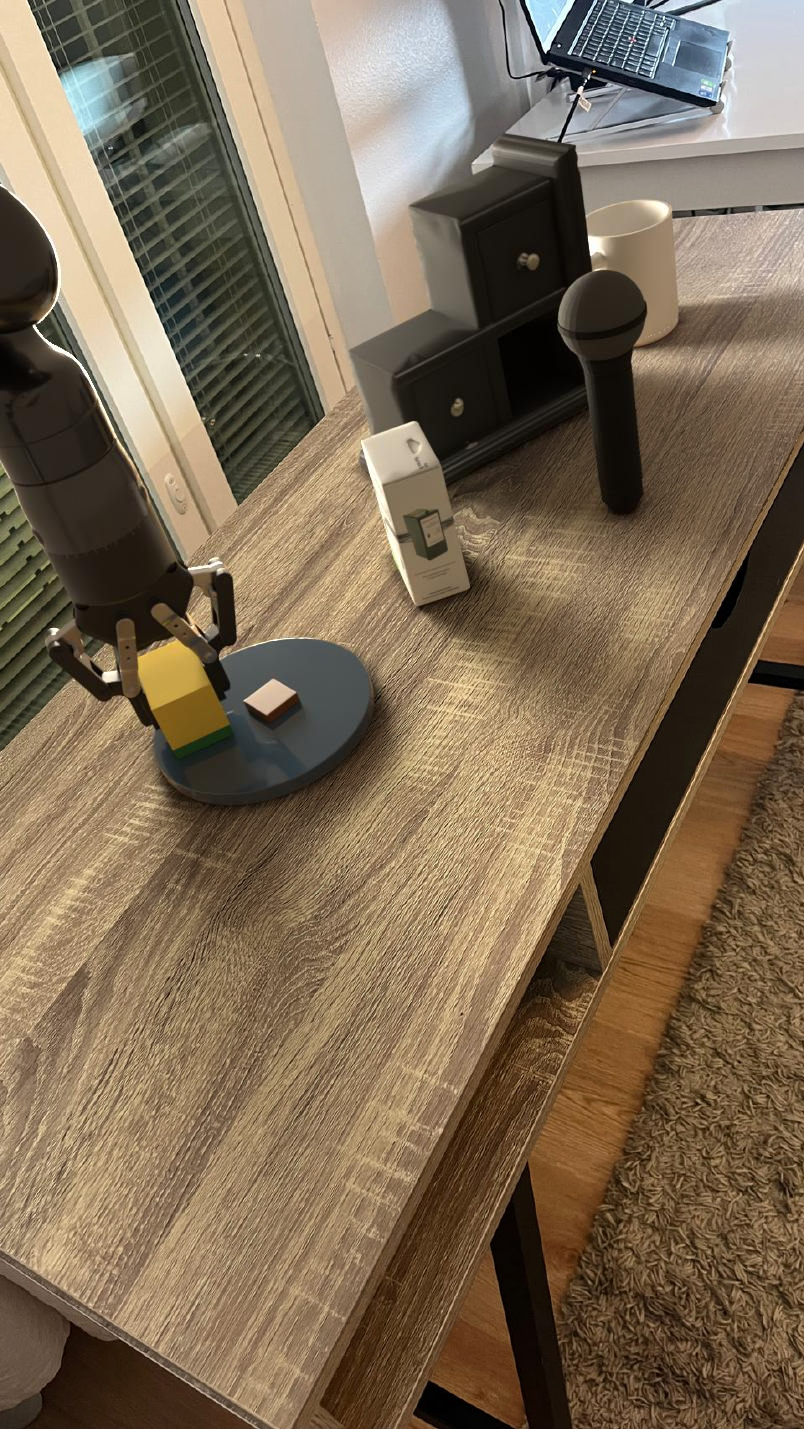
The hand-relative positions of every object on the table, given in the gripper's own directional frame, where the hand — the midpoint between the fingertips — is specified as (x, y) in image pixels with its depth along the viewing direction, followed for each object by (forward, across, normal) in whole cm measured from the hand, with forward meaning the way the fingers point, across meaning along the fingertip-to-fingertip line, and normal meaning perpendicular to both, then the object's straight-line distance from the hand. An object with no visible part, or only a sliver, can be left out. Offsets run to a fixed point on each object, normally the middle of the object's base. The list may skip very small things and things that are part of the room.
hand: (188, 708), depth 80 cm
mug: (+3, -58, -32) cm, 66 cm away
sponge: (+1, 0, 0) cm, 1 cm away
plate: (+2, -5, +2) cm, 6 cm away
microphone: (+3, -40, -4) cm, 40 cm away
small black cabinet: (+3, -37, -25) cm, 44 cm away
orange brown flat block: (+1, -6, +2) cm, 6 cm away
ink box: (+3, -23, -7) cm, 24 cm away
